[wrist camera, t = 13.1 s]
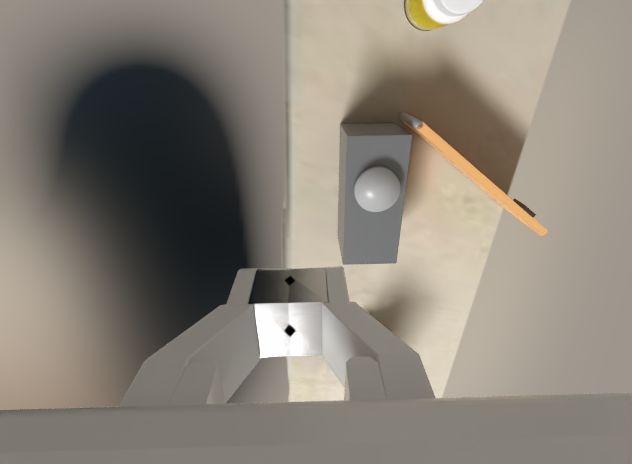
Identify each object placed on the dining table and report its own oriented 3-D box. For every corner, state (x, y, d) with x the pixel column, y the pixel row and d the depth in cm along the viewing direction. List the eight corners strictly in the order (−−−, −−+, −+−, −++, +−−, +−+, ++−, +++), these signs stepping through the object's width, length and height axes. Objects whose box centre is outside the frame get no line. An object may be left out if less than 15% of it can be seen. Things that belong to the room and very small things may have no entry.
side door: (396, 116, 35) (412, 125, 29) (405, 105, 34) (423, 112, 29) (511, 214, 40) (542, 236, 35) (520, 205, 40) (553, 227, 34)
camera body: (340, 123, 35) (348, 138, 28) (394, 122, 35) (415, 137, 28) (337, 234, 42) (343, 269, 35) (383, 234, 42) (398, 268, 35)
